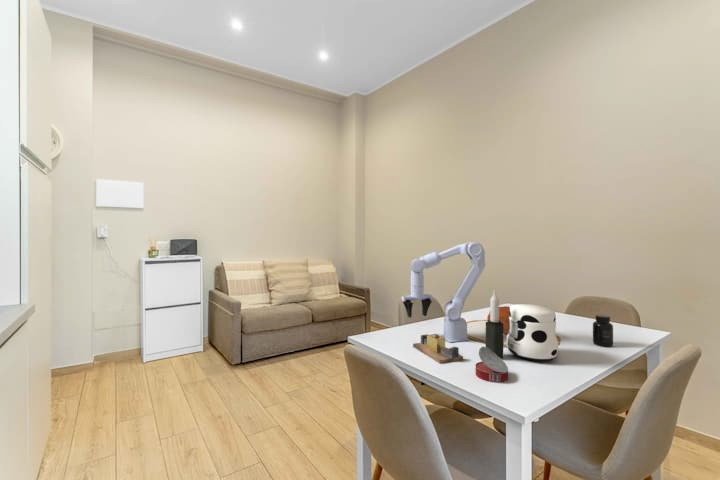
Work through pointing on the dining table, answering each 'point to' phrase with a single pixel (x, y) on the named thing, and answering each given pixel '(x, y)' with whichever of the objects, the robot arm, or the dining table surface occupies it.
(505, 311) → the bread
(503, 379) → the canned food
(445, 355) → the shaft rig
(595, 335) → the supplement bottle
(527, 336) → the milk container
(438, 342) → the block
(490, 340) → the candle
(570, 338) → the dining table surface
